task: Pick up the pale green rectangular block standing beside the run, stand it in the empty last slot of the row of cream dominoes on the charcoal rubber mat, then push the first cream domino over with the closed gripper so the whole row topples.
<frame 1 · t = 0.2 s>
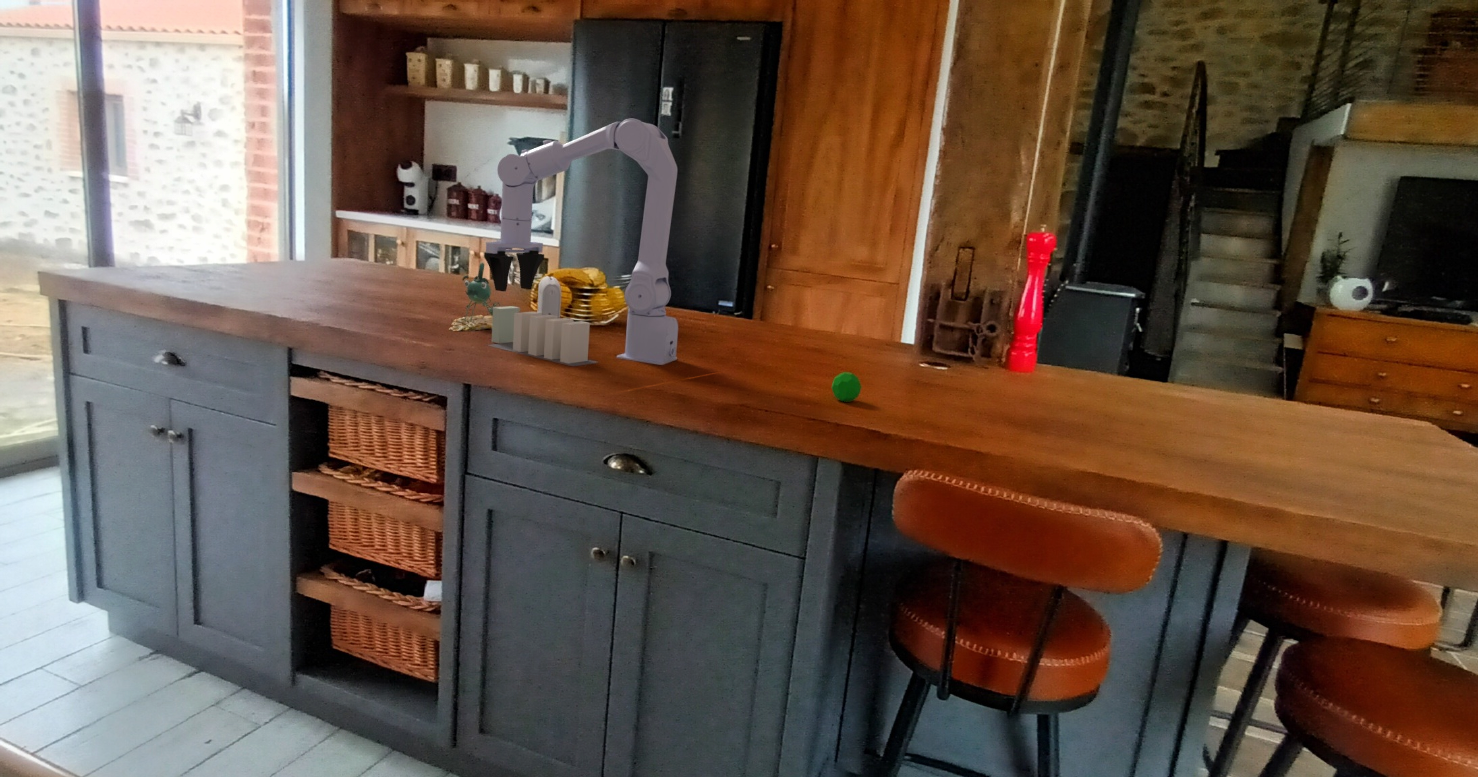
hand: (513, 289, 171), 10 cm above the counter, fingers open, 7 cm apart
domino mat: (541, 355, 162), on the counter
polyhedron: (844, 401, 149), on the counter
domino 3: (542, 353, 162), resting on domino mat
domino 2: (557, 357, 160), resting on domino mat
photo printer: (547, 336, 183), on the counter
pale green rectangular block: (505, 343, 170), on the counter
domino 4: (526, 349, 164), resting on domino mat
domino 1: (573, 361, 158), resting on domino mat
teal and tan figure: (481, 328, 186), on the counter
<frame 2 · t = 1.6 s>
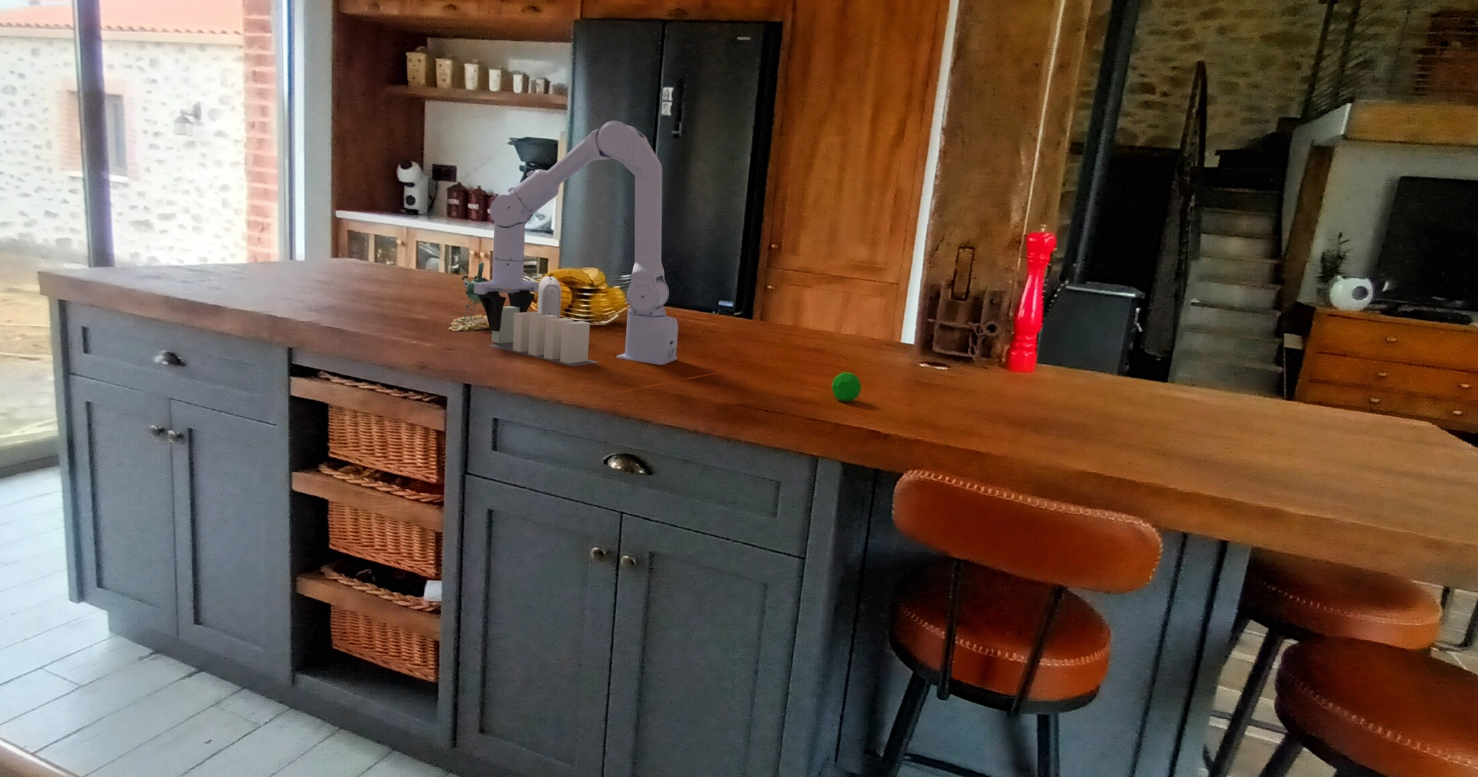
hand: (505, 329, 170), 3 cm above the counter, fingers closed on pale green rectangular block, 5 cm apart
pale green rectangular block: (505, 342, 170), on the counter, touching gripper
everything else where it was.
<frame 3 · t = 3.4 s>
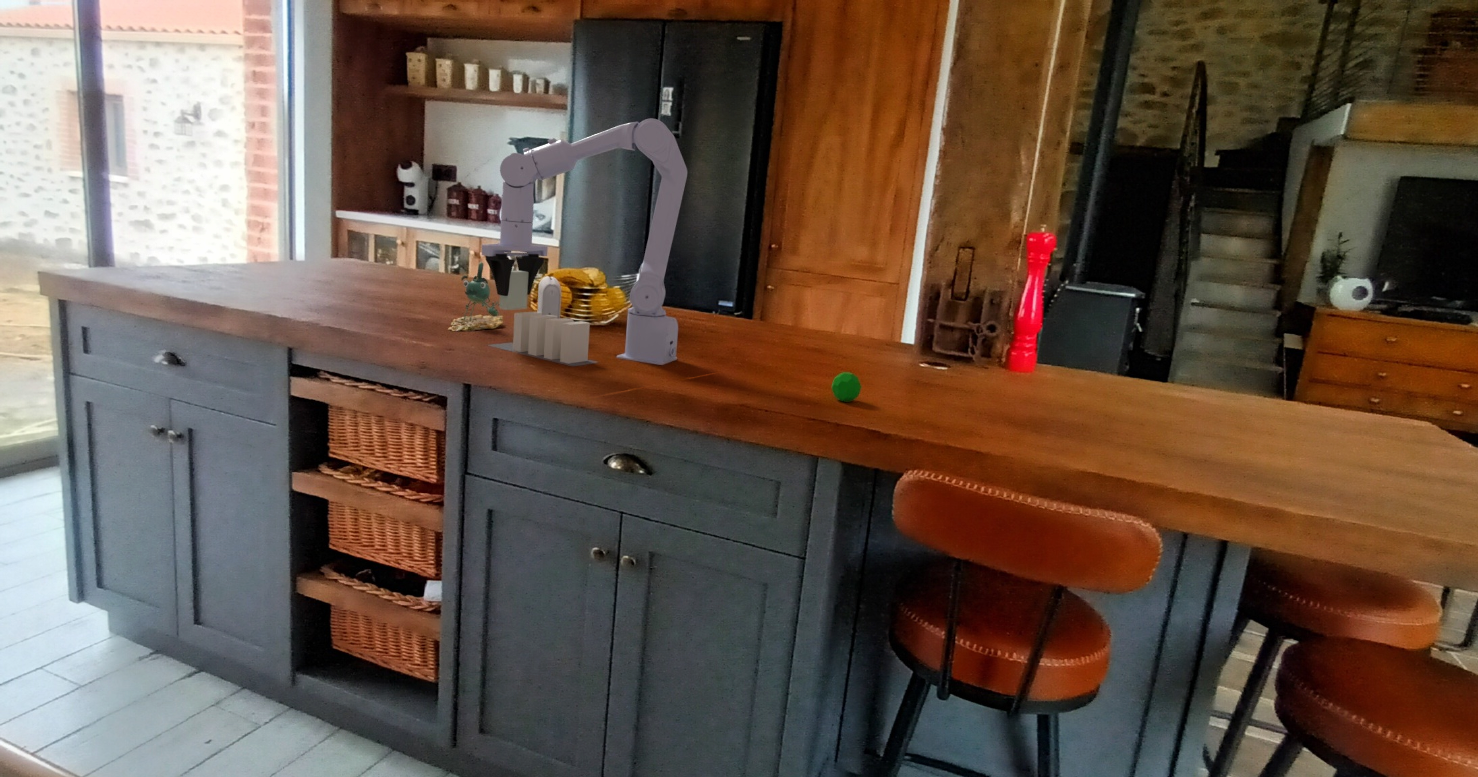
hand: (513, 294, 164), 10 cm above the counter, fingers closed on pale green rectangular block, 5 cm apart
pale green rectangular block: (513, 308, 164), point 8 cm above the counter, touching gripper
everything else where it was.
when the fingers open (4 cm above the counter, at t = 5.3 s): pale green rectangular block drops 1 cm, resting on domino mat.
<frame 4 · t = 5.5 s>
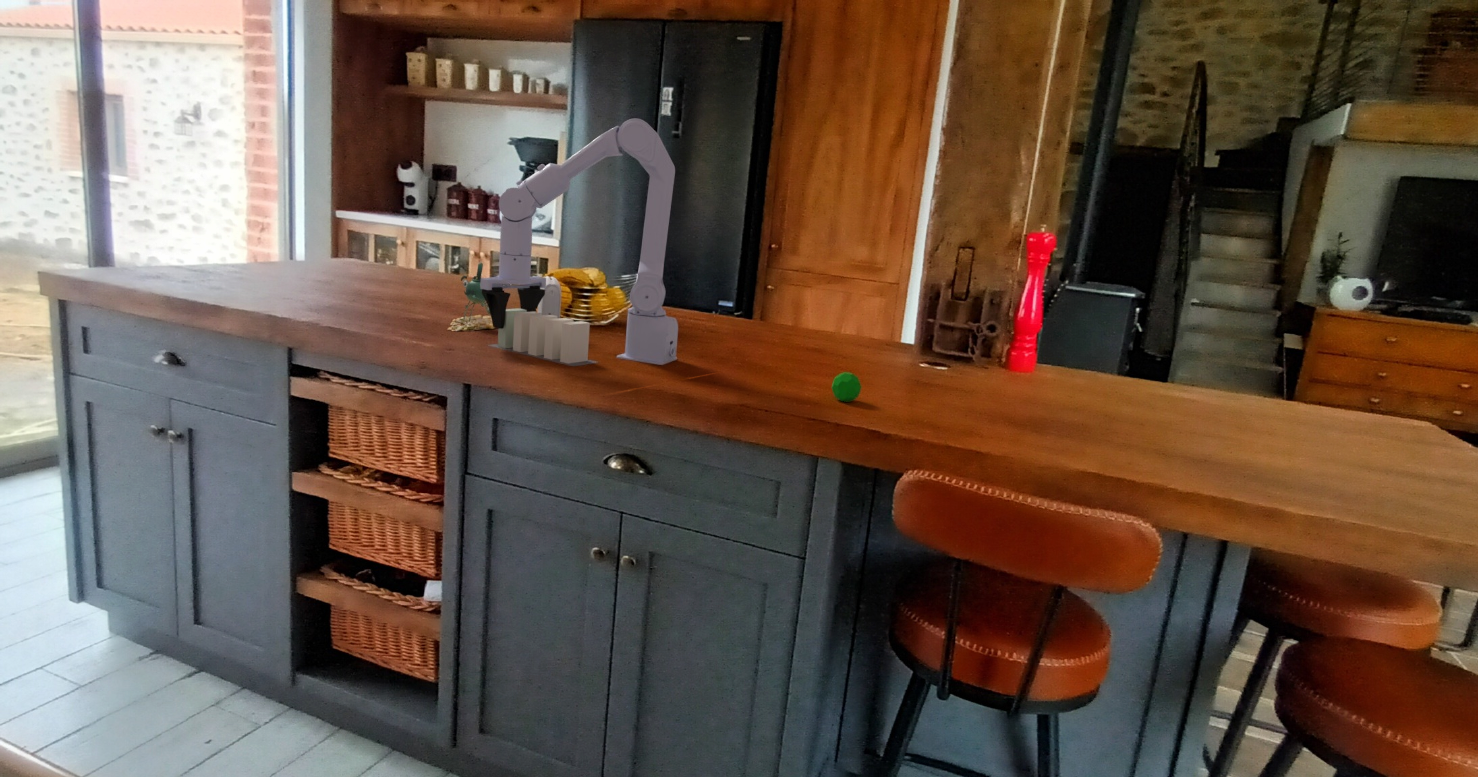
hand: (512, 326, 165), 4 cm above the counter, fingers open, 6 cm apart
pale green rectangular block: (511, 346, 166), resting on domino mat
everything else where it was.
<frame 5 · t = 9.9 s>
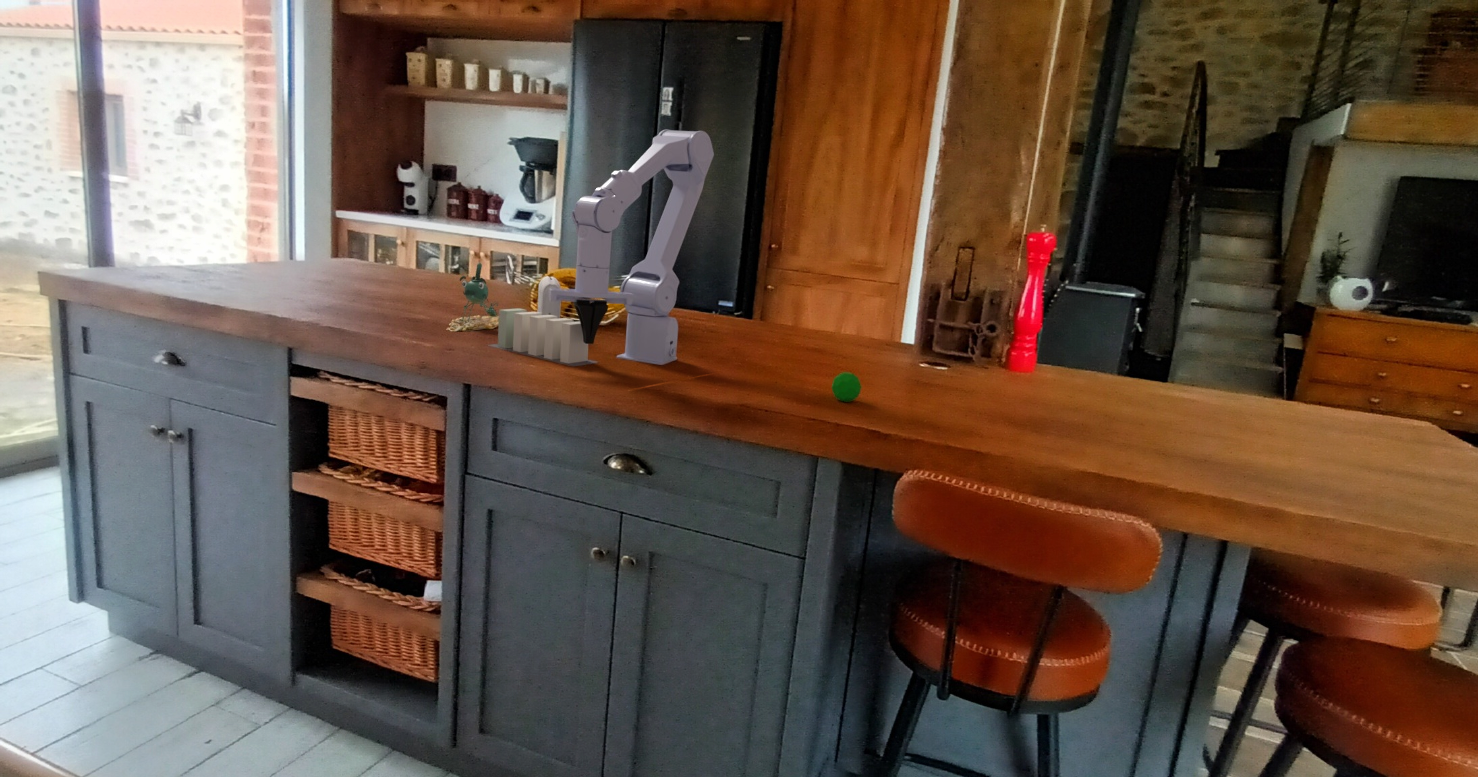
hand: (588, 342, 155), 4 cm above the counter, fingers closed
domino 1: (573, 361, 158), resting on domino mat, touching gripper
everything else where it was.
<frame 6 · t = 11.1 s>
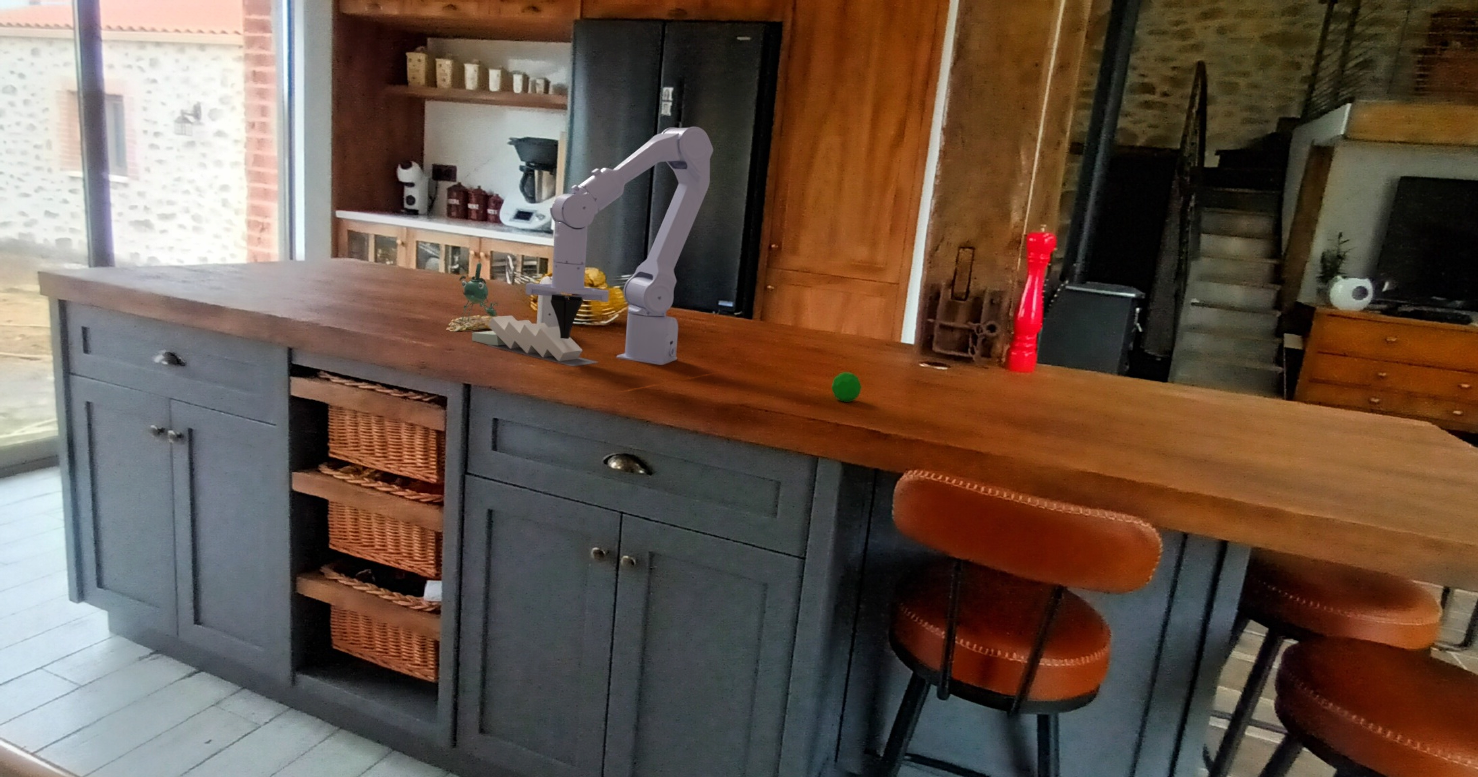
hand: (565, 337, 158), 4 cm above the counter, fingers closed
domino 3: (539, 348, 162), point 1 cm above the counter, tilted 61°, touching domino 2, domino 4, domino mat
domino 2: (554, 351, 160), point 1 cm above the counter, tilted 60°, touching domino 1, domino 3, domino mat
pale green rectangular block: (507, 339, 166), point 1 cm above the counter, tilted 96°, touching domino 4, domino mat
domino 4: (522, 343, 164), point 1 cm above the counter, tilted 61°, touching domino 3, pale green rectangular block
domino 1: (570, 355, 158), point 1 cm above the counter, tilted 60°, touching domino 2, domino mat
everything else where it was.
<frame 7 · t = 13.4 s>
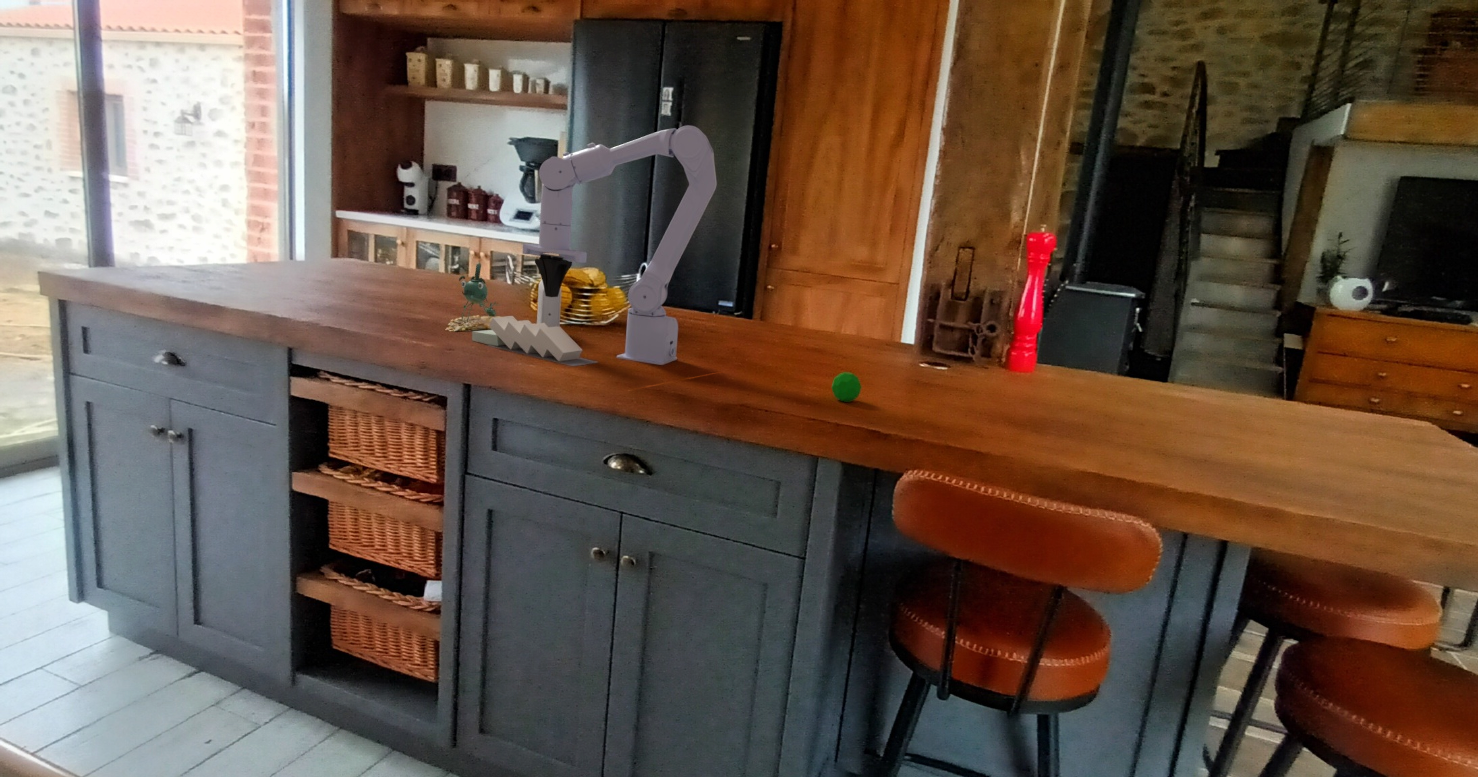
hand: (551, 296, 166), 10 cm above the counter, fingers closed
domino 2: (554, 351, 160), point 1 cm above the counter, tilted 60°, touching domino 1, domino 3
domino 4: (522, 344, 164), point 1 cm above the counter, tilted 60°, touching domino 3, domino mat, pale green rectangular block
everything else where it was.
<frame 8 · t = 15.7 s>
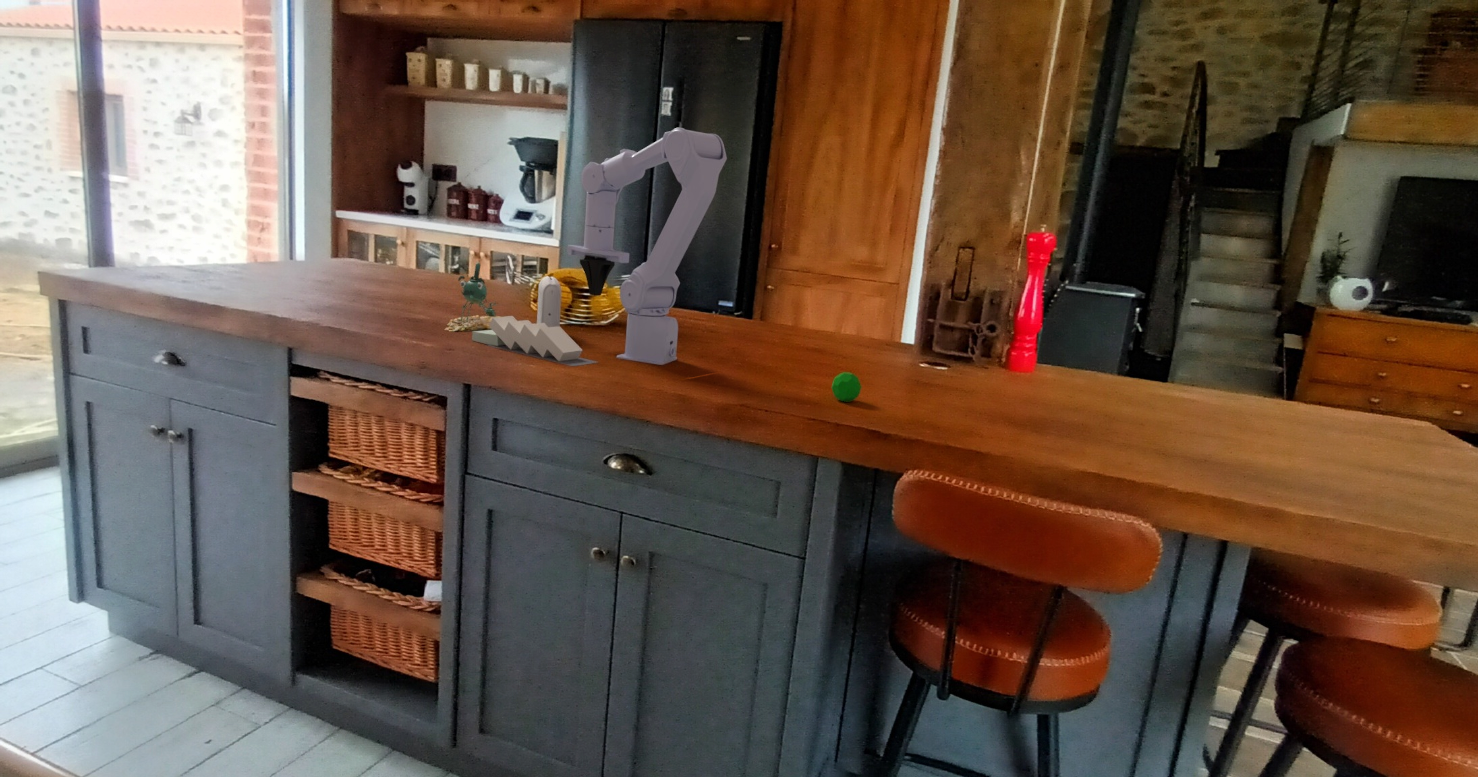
hand: (595, 295, 175), 10 cm above the counter, fingers closed
domino 2: (554, 351, 160), point 1 cm above the counter, tilted 60°, touching domino 1, domino 3, domino mat
at the end: pale green rectangular block tilted 93°; domino 4 tilted 60°; pale green rectangular block 0.4 cm from the target spot, point 1.4 cm above the counter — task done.
